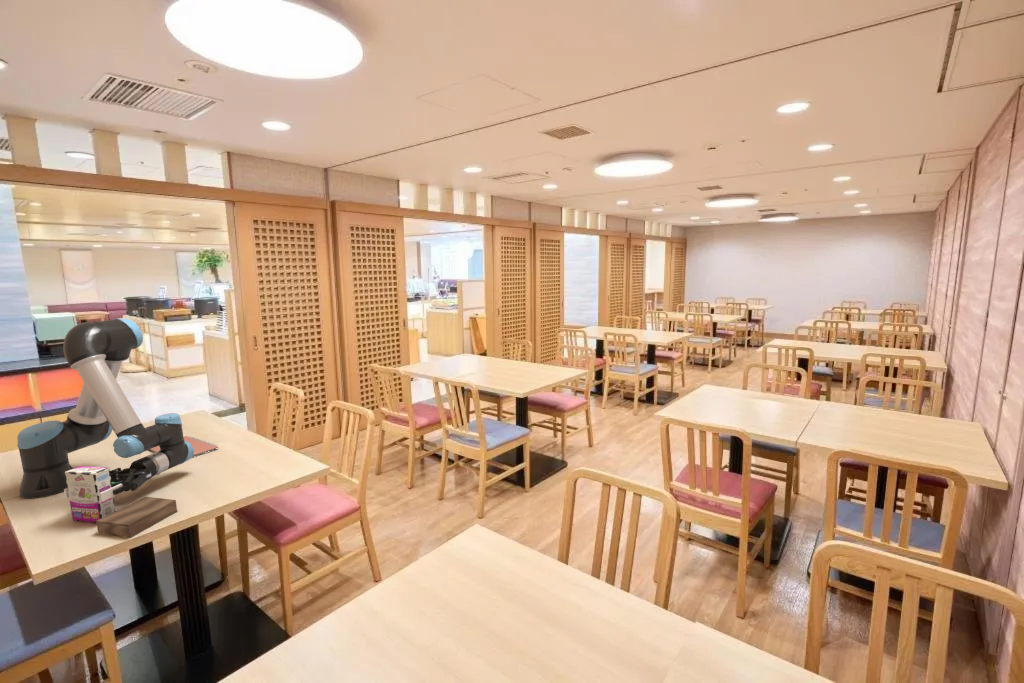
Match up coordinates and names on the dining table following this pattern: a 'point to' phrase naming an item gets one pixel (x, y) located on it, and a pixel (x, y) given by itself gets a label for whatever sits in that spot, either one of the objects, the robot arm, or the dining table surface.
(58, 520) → the dining table surface
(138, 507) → the wooden block
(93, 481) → the candy bar box
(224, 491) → the dining table surface
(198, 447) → the notebook
